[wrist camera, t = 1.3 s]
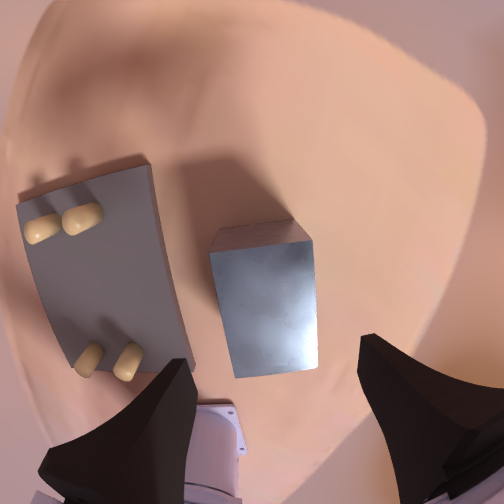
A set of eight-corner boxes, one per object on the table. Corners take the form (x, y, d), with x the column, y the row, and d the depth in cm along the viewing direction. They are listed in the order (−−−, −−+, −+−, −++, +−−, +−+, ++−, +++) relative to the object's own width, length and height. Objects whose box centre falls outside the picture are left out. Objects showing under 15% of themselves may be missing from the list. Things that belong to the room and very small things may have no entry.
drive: (302, 322, 21) (317, 367, 16) (237, 330, 21) (235, 378, 16) (294, 218, 19) (312, 239, 13) (219, 228, 19) (208, 253, 13)
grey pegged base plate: (195, 364, 22) (187, 397, 18) (75, 362, 22) (57, 386, 18) (151, 164, 17) (126, 165, 13) (22, 203, 17) (-8, 212, 14)
